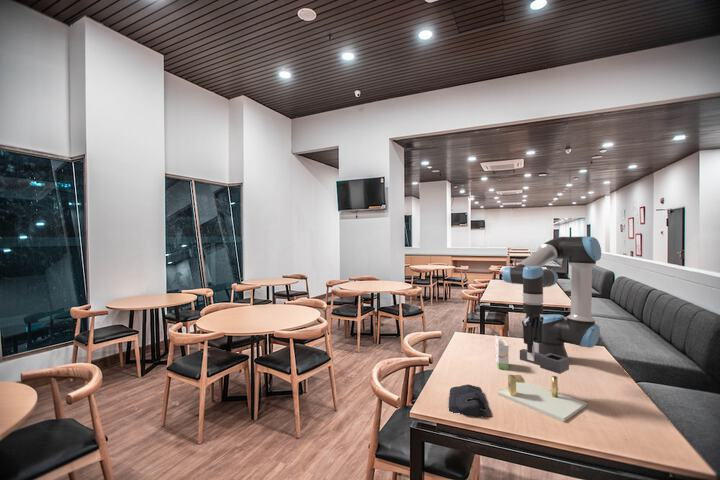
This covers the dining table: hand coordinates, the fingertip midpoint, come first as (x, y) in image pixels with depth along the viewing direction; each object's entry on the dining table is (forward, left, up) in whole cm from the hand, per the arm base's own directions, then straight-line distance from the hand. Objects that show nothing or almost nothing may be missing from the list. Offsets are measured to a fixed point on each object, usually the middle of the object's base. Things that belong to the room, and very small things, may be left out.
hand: (533, 359), depth 140 cm
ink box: (-15, -23, -14) cm, 31 cm away
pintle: (0, +9, -13) cm, 15 cm away
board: (+5, +6, -14) cm, 16 cm away
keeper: (+10, -1, -14) cm, 17 cm away
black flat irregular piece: (+29, -11, -14) cm, 34 cm away
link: (0, +4, -1) cm, 4 cm away
